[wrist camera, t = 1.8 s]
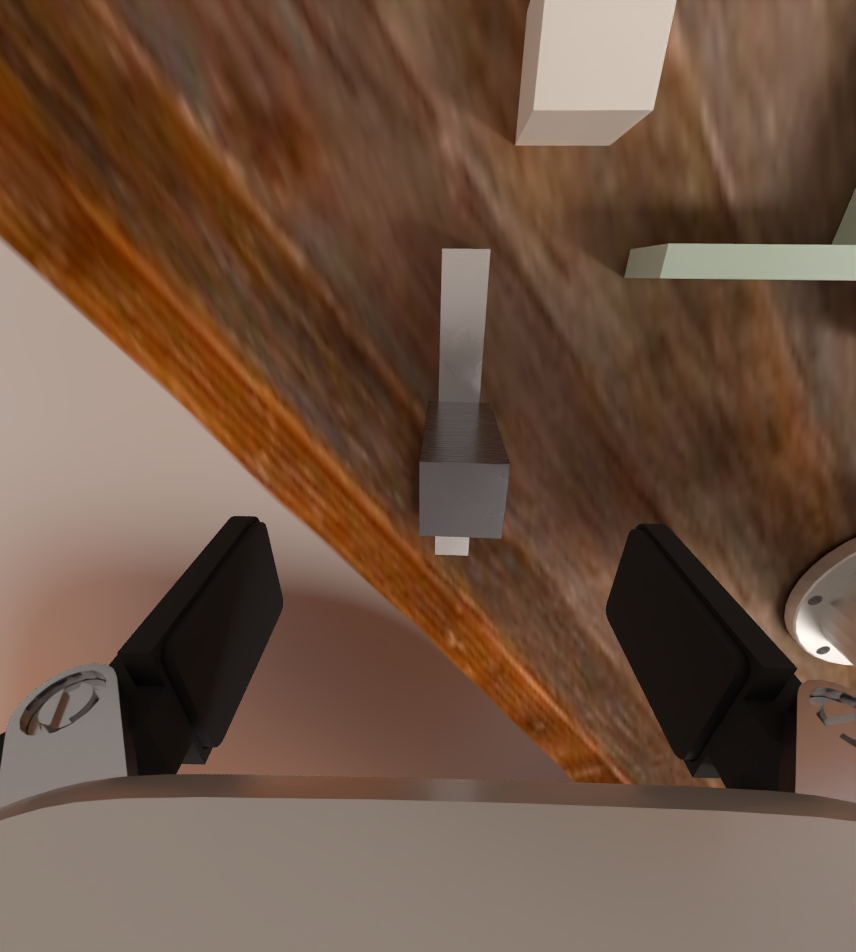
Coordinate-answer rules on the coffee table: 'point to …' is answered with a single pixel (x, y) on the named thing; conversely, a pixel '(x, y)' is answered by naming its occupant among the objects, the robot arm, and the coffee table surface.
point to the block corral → (752, 259)
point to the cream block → (590, 69)
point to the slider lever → (462, 419)
